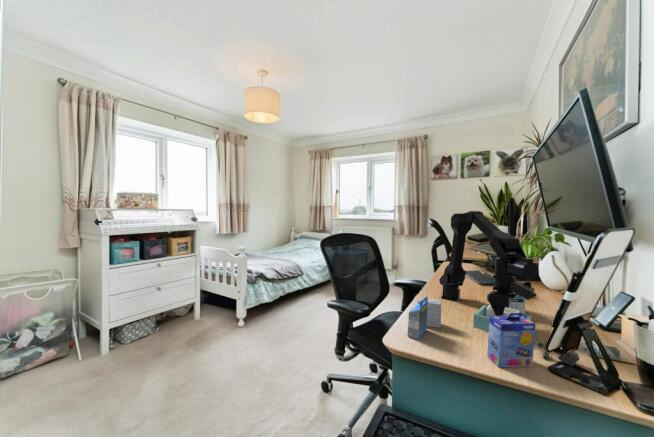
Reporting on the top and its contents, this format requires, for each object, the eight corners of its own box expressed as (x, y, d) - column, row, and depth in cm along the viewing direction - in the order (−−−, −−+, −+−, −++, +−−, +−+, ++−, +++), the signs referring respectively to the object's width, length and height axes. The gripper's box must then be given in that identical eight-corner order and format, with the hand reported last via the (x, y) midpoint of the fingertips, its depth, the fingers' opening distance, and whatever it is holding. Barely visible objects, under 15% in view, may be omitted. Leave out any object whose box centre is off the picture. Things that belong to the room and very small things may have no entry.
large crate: (473, 328, 97) (473, 314, 97) (483, 317, 106) (483, 304, 106) (525, 343, 87) (526, 327, 86) (531, 329, 96) (531, 315, 96)
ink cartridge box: (499, 368, 72) (502, 315, 72) (485, 357, 78) (487, 307, 77) (534, 367, 73) (537, 314, 72) (518, 355, 79) (520, 306, 78)
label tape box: (415, 326, 97) (416, 292, 96) (427, 330, 95) (428, 295, 94) (407, 336, 90) (407, 299, 89) (419, 340, 87) (420, 302, 87)
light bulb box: (525, 318, 105) (526, 290, 105) (505, 316, 106) (507, 289, 106) (512, 307, 116) (513, 282, 115) (494, 306, 117) (495, 281, 116)
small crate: (485, 324, 97) (486, 308, 97) (489, 319, 102) (490, 303, 101) (515, 333, 91) (516, 315, 91) (518, 327, 96) (519, 310, 95)
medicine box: (440, 323, 100) (440, 299, 100) (440, 328, 96) (441, 304, 95) (417, 320, 103) (417, 297, 102) (417, 325, 98) (417, 301, 98)
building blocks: (579, 359, 72) (545, 337, 76) (565, 373, 74) (533, 351, 78) (578, 354, 75) (545, 333, 79) (565, 368, 77) (533, 347, 81)
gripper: (529, 283, 83) (526, 333, 84) (536, 272, 97) (534, 315, 98) (487, 276, 91) (485, 322, 92) (500, 266, 104) (498, 307, 105)
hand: (502, 316), depth 96 cm, fingers open, 9 cm apart
